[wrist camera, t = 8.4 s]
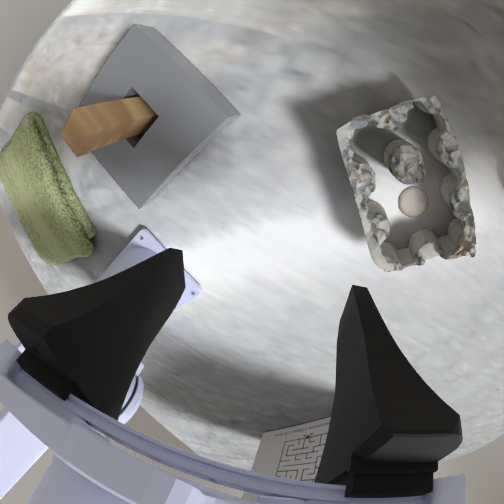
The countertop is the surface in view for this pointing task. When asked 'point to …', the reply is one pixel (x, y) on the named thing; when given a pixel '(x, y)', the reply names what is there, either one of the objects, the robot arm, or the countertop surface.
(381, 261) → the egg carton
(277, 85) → the countertop surface
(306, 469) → the cereal box
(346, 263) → the countertop surface
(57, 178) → the washcloth
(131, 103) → the oak peg
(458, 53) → the countertop surface
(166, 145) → the charcoal socket block
